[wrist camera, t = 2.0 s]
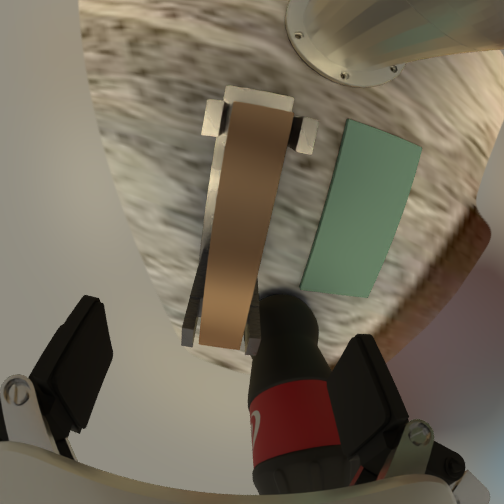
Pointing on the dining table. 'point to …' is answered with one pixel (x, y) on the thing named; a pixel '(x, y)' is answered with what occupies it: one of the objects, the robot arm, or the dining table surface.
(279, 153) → the walnut rail
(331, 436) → the cola bottle
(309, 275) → the rubber mat
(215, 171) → the rail stand
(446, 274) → the dining table surface
